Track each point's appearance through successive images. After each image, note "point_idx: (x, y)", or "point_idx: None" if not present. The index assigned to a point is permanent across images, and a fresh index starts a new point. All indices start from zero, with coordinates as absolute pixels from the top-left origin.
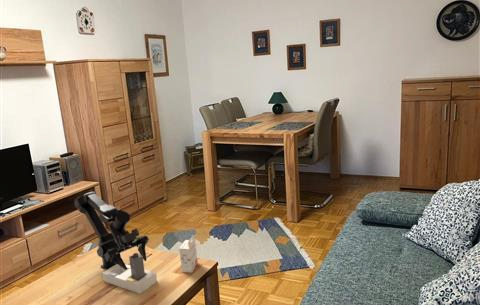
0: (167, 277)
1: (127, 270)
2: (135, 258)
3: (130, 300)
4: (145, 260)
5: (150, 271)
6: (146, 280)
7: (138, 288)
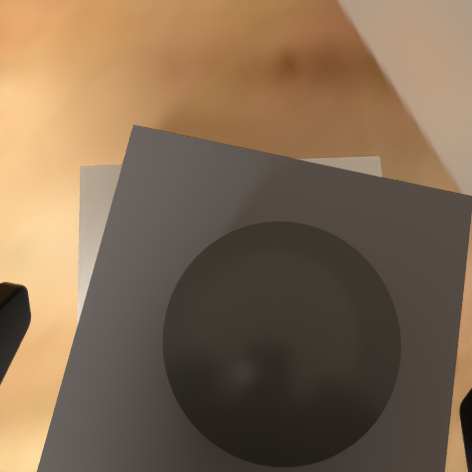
0: (7, 158)
1: None
2: (385, 218)
3: (462, 193)
4: (25, 300)
5: (83, 258)
6: None
7: None
